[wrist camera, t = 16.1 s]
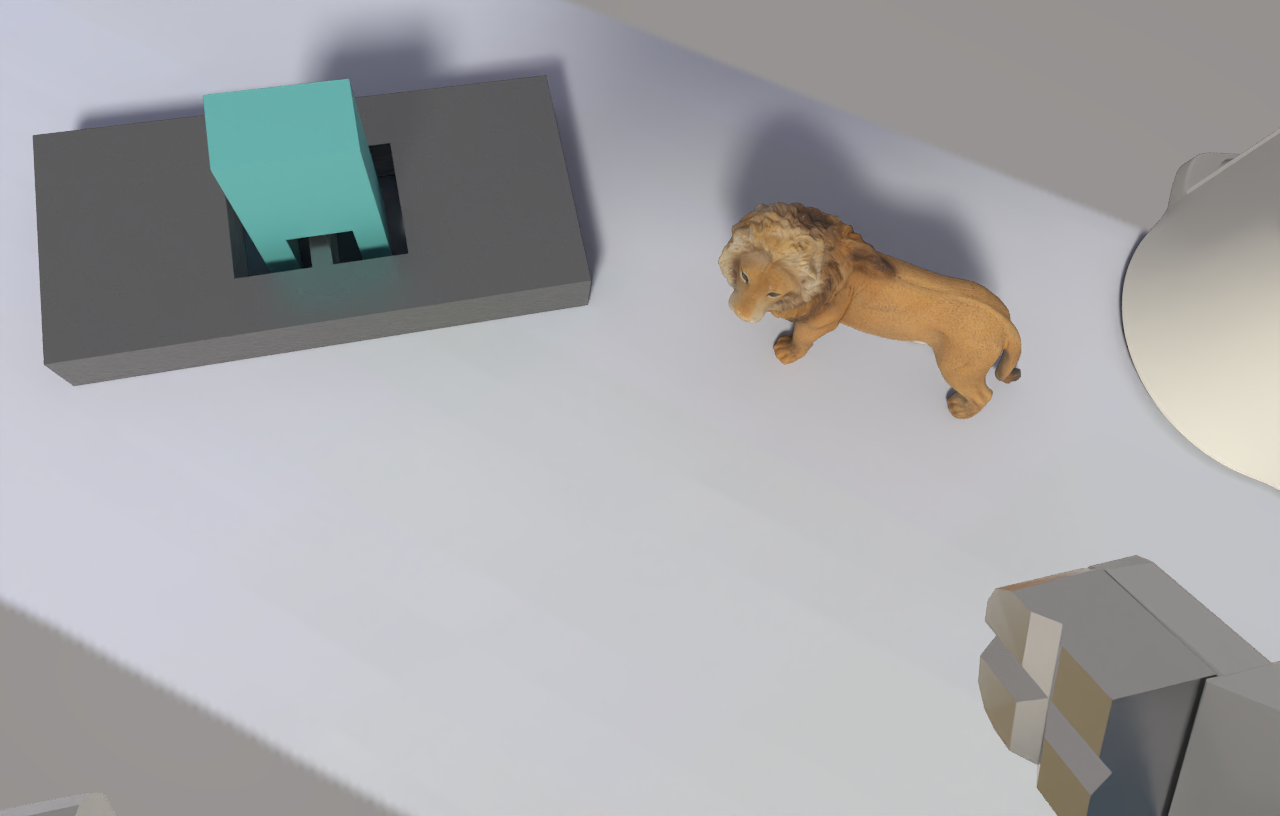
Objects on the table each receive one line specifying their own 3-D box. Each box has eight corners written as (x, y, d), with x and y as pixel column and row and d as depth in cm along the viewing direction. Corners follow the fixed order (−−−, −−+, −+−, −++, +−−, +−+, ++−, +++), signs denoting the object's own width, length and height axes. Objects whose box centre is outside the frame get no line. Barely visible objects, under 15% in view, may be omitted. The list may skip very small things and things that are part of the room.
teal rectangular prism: (383, 198, 42) (348, 78, 34) (393, 259, 42) (360, 151, 34) (265, 214, 42) (202, 95, 34) (273, 276, 41) (210, 169, 33)
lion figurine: (685, 373, 42) (725, 287, 33) (701, 263, 43) (743, 154, 35) (1012, 432, 42) (1133, 362, 34) (1015, 322, 44) (1131, 228, 36)
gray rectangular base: (545, 109, 45) (546, 75, 42) (587, 304, 42) (591, 280, 40) (61, 168, 41) (32, 135, 39) (73, 385, 39) (44, 364, 36)
